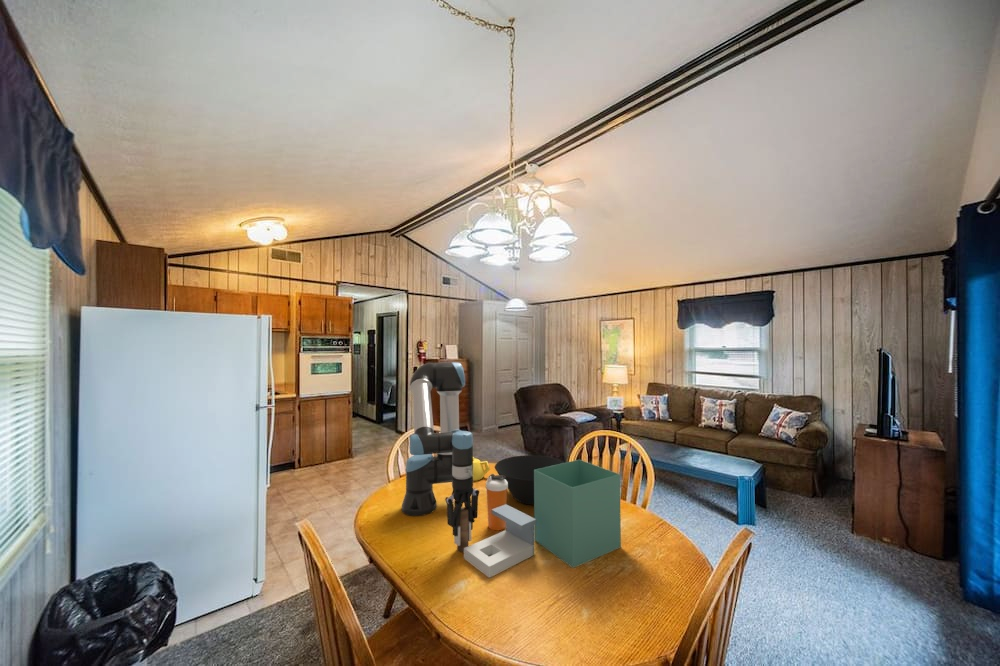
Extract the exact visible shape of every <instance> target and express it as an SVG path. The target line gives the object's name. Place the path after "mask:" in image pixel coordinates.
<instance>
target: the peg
mask: <svg viewBox="0 0 1000 666" xmlns="http://www.w3.org/2000/svg"><path fill="white" fill-rule="evenodd" d="M459 526H460V546H458V545H456V546H457V547H456V550H457V552H459V553H464V548H465V547H468V546H469V541H468V509H467V508H466V507H465V506H464V507H463V506H462V507H461V512H460V519H459Z"/></svg>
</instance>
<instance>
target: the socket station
mask: <svg viewBox="0 0 1000 666" xmlns="http://www.w3.org/2000/svg"><path fill="white" fill-rule="evenodd" d="M492 514H493V515H495V516H497V517H499V518H500V519H502V520H504V521H506V527H505V530H503V531H500V532H498V533H496V534H494V535H491V536H489V537H486V538H484V539H482V540H480V541H479V540H478V541H477V542H475V543H473V544H471V545H470V544H469V545H468V547H465V548H464V552H463V559H464V560H465V561H466V562H468V563H470V565H472V566H473V567H475V569H477V570H478V571H480V572H481V573H483V575H485V576H486V577H488V579H490V578H492V577H494V576H495V575H498V574H500V573H502V572H504V571H505V570H507V569H509V568H512V567H513V566H515V565H517V564H520V563H522V561H526V559H528V558H531V557H533V556H534V555H535V540H534V524H536V519H535V518H534V516H530V515H528V514H527V513H525V512H523V511H520V510H518V509H517V508H515V507H512V506H510V505H508V503H507V504H505V505H502V506H500V507H497V508H494V509H492Z"/></svg>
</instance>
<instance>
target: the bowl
mask: <svg viewBox="0 0 1000 666" xmlns="http://www.w3.org/2000/svg"><path fill="white" fill-rule="evenodd" d="M562 463H566V462H565V461H564V460H561V459H559V458H555V457H550V456H545V455H534V454H533V455H531V454H529V455H528V454H527V455H516V456H510V457H506V458H504V459H500V460H499V461H497V462H496V463H495V465H494V470H495V471H496V473H497V475H504V476H506V478H505V479H506V481H507V482H508V488H507V490H509V492H510V494H511V495H512V497H513V498H514V499H515V500H516V501H518V502H519V503H522V504H526V505H534V470H536V469H540V468H545V467H549V466H553V465H558V464H562Z"/></svg>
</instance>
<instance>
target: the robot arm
mask: <svg viewBox="0 0 1000 666" xmlns="http://www.w3.org/2000/svg"><path fill="white" fill-rule="evenodd" d="M464 371H465V370H464V367H463V365H462V364H461V362H453V361H452V362H427V363H423V364H422V365H420V366H419V367H418V368H417V369H416V370H415V371H414V373H412V376H411V379H410V382H409V390H410V392H411V393H412V404H413V405H412V406H413V407H412V408H413V409H412V410H413V411H412V412H413V432H414V434H410V435H409V454H410V455H412V456H410V457H408V459H407V460H406V462H405V464H406V465H405V472H406V473H405V481H406V482H405V494H404V497H403V500H402V504H401V511H402V513H403V514H404V515H407V516H409V517H418V516H419V517H421V516H426V515H429V514H431V513H433V512H434V511H435V510H436V509H437V508H438V507H437V504H438V503H437V499H436V497H435V496H436V495H435V493H434V490H433V488H434V487H433V486H434V485H435V484H437V485H438V484H447V483H451V486H452V492H451V495H450V496H449V497H445V499H444V501H445V503H446V515H447V516H446V517H447V520H446V522H447V525H448V526H450V527H451V528H452V535H453V536H454V538H453V539H454V541H453V542H454V544H455V545H456V546H457V545H458V546H460V526H459V519H460V512H461V507H463V504H464V507H466V508H467V509H468V543H469V542H471V541H472V530H473V527H474V526H473V524H474V523H475V520H476V519H478V515H479V514H478V511H479V510H478V509H479V507H478V505H479V504H478V503H479V495H480V490H479V489H476V488H474V481H473V476H472V475H473V457H474V435H473V433H472V432H471V431H467V430H461V429H460V406H459V405H460V404H459V402H460V401H459V399H460V398H459V395H460V394H461V393H462V391H463V389H462V388H464V387H465V386H466V376H465V372H464ZM432 389H436V393H437V394H438V395H439V406H440V407H439V411H440V413H439V415H440V417H439V418H440V420H439V421H440V425H439V426H440V428H439V429H440V432H435V429H434V427H435V426H434V420H433V419H434V418H433V417H434V416H433V405H432V396H431V391H432ZM435 454H437V455H436V456H434V455H435Z"/></svg>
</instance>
